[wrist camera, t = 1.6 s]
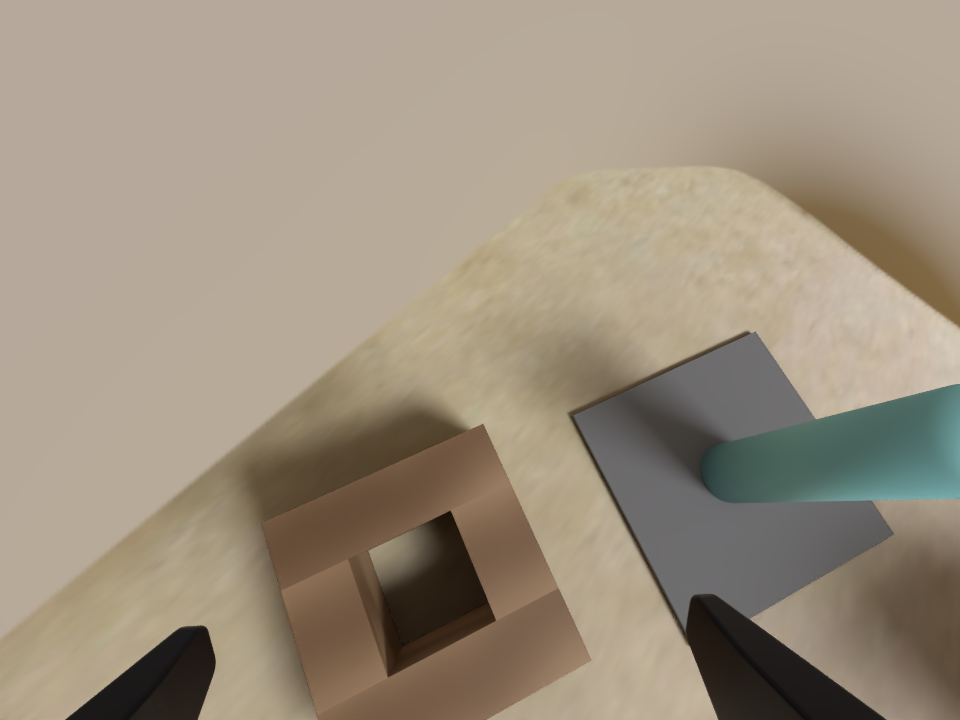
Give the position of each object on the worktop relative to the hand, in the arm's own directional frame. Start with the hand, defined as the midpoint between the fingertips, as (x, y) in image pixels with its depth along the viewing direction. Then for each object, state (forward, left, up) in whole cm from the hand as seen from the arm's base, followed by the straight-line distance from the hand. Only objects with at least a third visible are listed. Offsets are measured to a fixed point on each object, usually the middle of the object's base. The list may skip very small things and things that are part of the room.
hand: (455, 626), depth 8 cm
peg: (-2, -14, -14) cm, 20 cm away
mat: (-2, -14, -14) cm, 20 cm away
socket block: (0, +2, -14) cm, 14 cm away
